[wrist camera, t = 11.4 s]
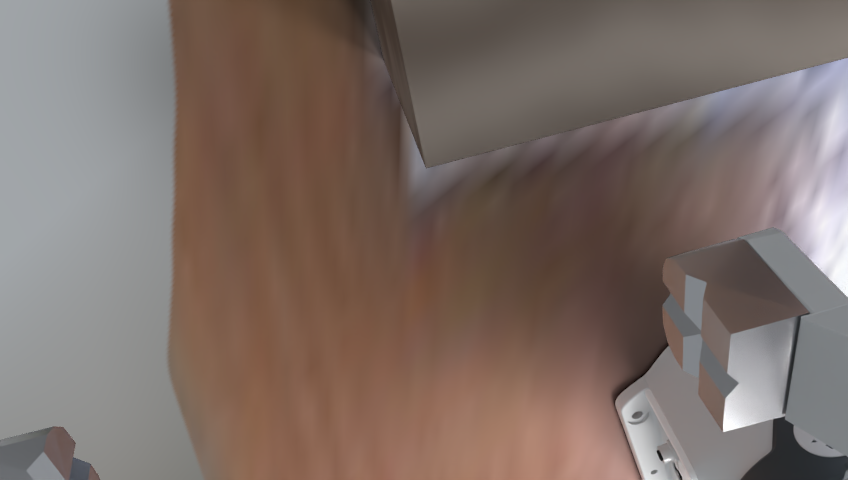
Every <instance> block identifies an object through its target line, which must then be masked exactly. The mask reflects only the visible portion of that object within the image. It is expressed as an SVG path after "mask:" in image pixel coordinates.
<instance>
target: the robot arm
mask: <svg viewBox="0 0 848 480" xmlns="http://www.w3.org/2000/svg"><path fill="white" fill-rule="evenodd" d="M663 282H664V284H665V285H666V287H667V288H668V290H669V291H670V293H671V294H670V295H669V297H668V298H667V300H666V301H665V302H664V304H663V305H662V311H663V326H664V330H665V334H666V338H667V342H668V344H669V346H668V347H667V348H666V349H665V350H664V351H663V352H662V354H661V355H660V356H659V357H658V359H657V360H656V361H655V363H654V364H653V365H652V367H651V368H650V369H649V370H648V372H647V373H646V374H645V375H644V376H643V377H641V378H640V379H638V380H637V381H636V382H634V383H633V384H632V385H630V386H629V387H628V388H626V389H625V390H624V391H623V392H622V393H621V394H620V395H619V396H618V397H617V399H616V401H615V406H616V409H617V412H618V414H619V417H620V420H621V423H622V425H623V428H624V431H625V434H626V437H627V439H628V442H629V445H630V448H631V450H632V453H633V456H634V459H635V461H636V464H637V467H638V470H639V472H640V475H641V478H642V480H848V297H847V296H846V295H845V294H844V293H843V292H842V291H841V290H840V289H839V288H838V287H837V286H836V285H835V284H834V283H833V282H832V281H831V280H830V279H829V278H828V277H827V276H826V275H825V274H824V273H823V272H822V271H821V270H820V269H819V268H818V267H817V266H816V265H815V264H814V263H813V262H812V261H811V260H810V259H809V258H808V257H807V256H806V255H805V254H804V253H803V252H802V251H801V250H800V249H799V248H798V247H797V246H796V245H795V244H794V243H793V242H792V241H791V240H790V239H789V238H788V237H787V236H786V235H785V234H784V233H783V232H782V231H781V230H779V229H776V228H774V227H773V228H769V229H766V230H762V231H759V232H755V233H752V234H748V235H745V236H742V237H738V238H737V239H732V240H729V241H725V242H721V243H718V244H714V245H711V246H707V247H704V248H700V249H697V250H693V251H690V252H686V253H683V254H679V255H676V256H672V257H669V258H666V260H665V263H664V265H663ZM75 444H76V443H75V441H74V440H73V439H72V438H71V436H70V435H69V434H68V432H67V431H66V430H65V429H64V428H63V427H50V428H46V429H42V430H38V431H34V432H30V433H26V434H22V435H18V436H14V437H10V438H6V439H2V440H0V480H100V478H99V475H98V474H97V473H96V471H95V470H94V468H93V467H92V466H91V464H89V463H87V462H84V461H81V460H79V459H76V458H74V457H73V454H74V449H75Z"/></svg>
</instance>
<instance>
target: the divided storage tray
mask: <svg viewBox="0 0 848 480" xmlns="http://www.w3.org/2000/svg"><path fill="white" fill-rule="evenodd" d="M370 1H371V6H372V10H373V14H374V19H375V23H376V28H377V32H378V37H379V41H380V46H381V50H382V54H383V59H384V62H385V65H386V67H387V70H388V72H389V75H390V77H391V80H392V83H393V85H394V88H395V90H396V93H397V95H398V98H399V100H400V103H401V106H402V108H403V111H404V113H405V116H406V118H407V121H408V123H409V126H410V129H411V131H412V134H413V136H414V139H415V141H416V144H417V146H418V149H419V152H420V154H421V157H422V159H423V162H424V164H425V167H426V168H429V167H433V166H437V165H441V164H444V163H448V162H452V161H456V160H460V159H463V158H467V157H471V156H475V155H479V154H482V153H486V152H490V151H494V150H498V149H501V148H505V147H509V146H513V145H517V144H521V143H524V142H528V141H532V140H536V139H540V138H543V137H547V136H551V135H555V134H559V133H562V132H566V131H570V130H574V129H578V128H582V127H585V126H589V125H593V124H597V123H601V122H604V121H608V120H612V119H616V118H620V117H623V116H627V115H631V114H635V113H639V112H642V111H646V110H650V109H654V108H658V107H662V106H665V105H669V104H673V103H677V102H681V101H684V100H688V99H692V98H696V97H700V96H703V95H707V94H711V93H715V92H719V91H722V90H726V89H730V88H734V87H738V86H742V85H745V84H749V83H753V82H757V81H761V80H764V79H768V78H772V77H776V76H780V75H783V74H787V73H791V72H795V71H799V70H802V69H806V68H810V67H814V66H818V65H822V64H825V63H829V62H833V61H837V60H841V59H844V58H848V0H370Z"/></svg>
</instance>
